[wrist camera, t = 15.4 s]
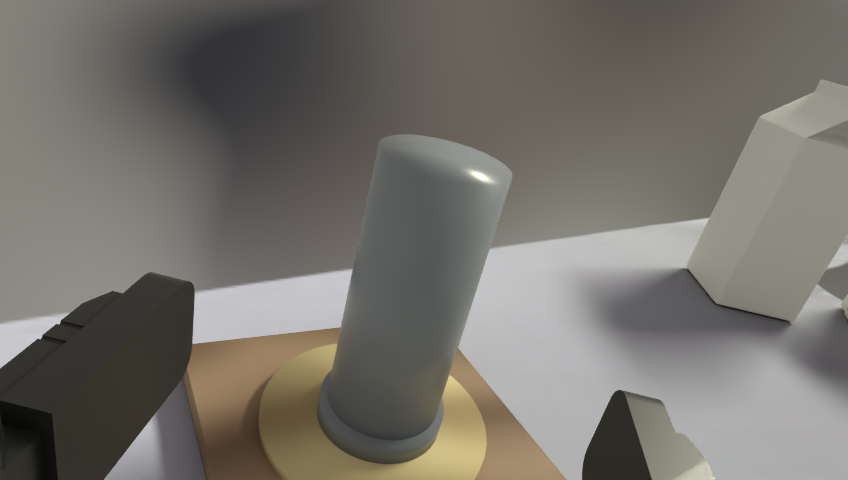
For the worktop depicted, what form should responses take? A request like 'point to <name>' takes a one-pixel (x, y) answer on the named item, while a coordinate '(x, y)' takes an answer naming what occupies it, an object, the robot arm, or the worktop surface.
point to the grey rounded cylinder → (410, 295)
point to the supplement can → (845, 306)
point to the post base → (300, 430)
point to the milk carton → (780, 209)
